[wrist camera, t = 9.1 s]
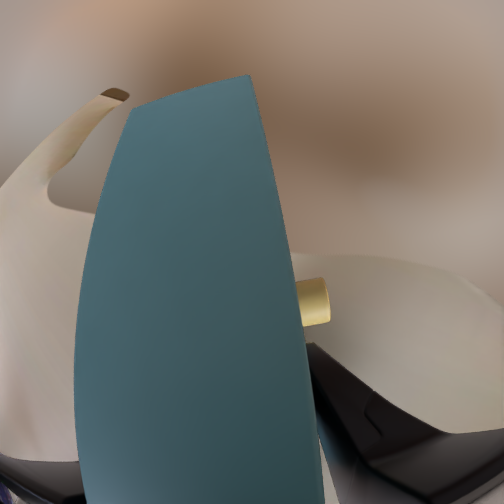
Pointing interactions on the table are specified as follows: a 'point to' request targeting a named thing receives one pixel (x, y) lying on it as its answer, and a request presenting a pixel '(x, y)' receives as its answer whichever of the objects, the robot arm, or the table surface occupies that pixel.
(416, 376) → the table surface
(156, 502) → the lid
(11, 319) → the table surface
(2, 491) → the storage jar
